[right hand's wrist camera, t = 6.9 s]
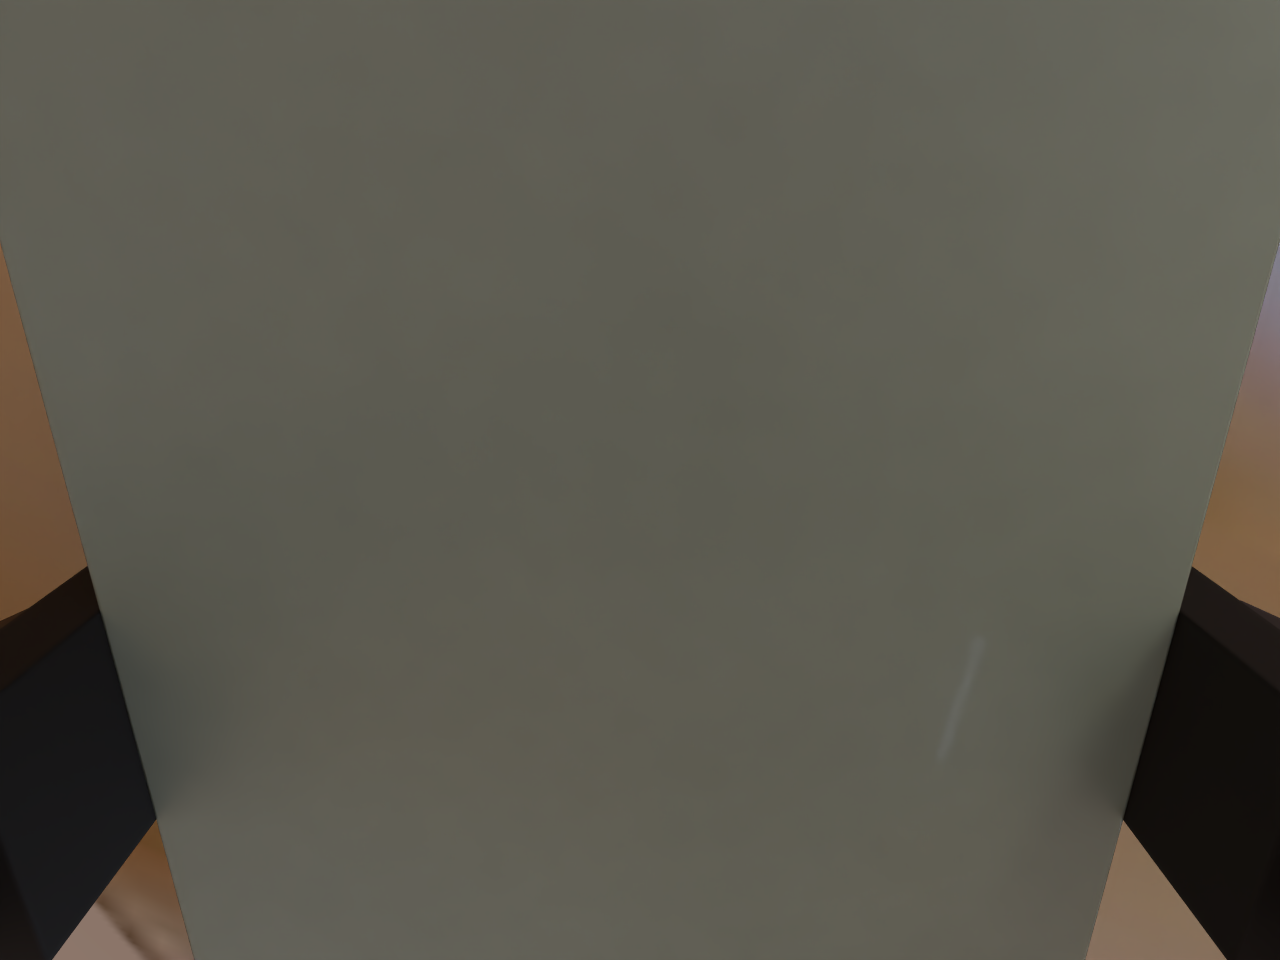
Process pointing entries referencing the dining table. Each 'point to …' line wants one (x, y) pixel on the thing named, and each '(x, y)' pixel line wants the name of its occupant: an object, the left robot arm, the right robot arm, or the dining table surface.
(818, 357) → the cabinet
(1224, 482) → the dining table surface
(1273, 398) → the dining table surface
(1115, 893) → the dining table surface
